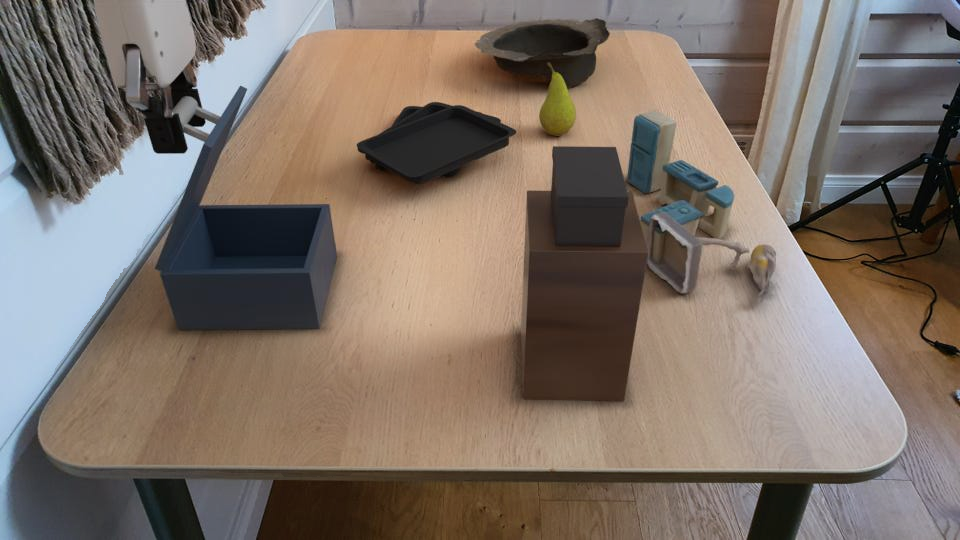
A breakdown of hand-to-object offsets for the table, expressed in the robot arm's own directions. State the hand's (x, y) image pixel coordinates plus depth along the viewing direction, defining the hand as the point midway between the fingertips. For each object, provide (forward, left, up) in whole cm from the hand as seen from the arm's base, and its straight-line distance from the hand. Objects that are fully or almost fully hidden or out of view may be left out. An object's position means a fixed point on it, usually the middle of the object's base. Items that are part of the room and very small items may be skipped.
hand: (180, 136), depth 75 cm
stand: (+12, -40, -20) cm, 46 cm away
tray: (+41, -2, -20) cm, 45 cm away
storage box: (+3, -4, -20) cm, 21 cm away
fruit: (+58, -13, -20) cm, 62 cm away
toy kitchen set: (+43, -35, -20) cm, 59 cm away
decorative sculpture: (+34, -48, -20) cm, 62 cm away
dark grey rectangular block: (+12, -40, -2) cm, 42 cm away
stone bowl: (+79, +2, -20) cm, 81 cm away
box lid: (+1, -1, -5) cm, 5 cm away
